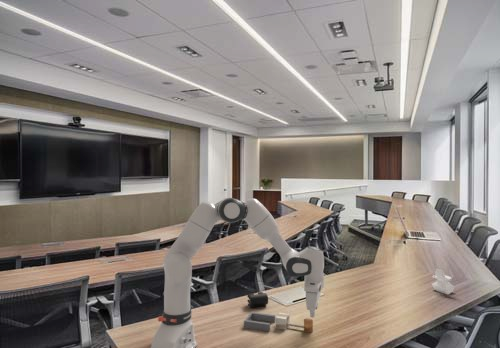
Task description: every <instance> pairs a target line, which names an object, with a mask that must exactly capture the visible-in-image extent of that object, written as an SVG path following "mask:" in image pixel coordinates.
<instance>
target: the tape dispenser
mask: <svg viewBox="0 0 500 348" xmlns="http://www.w3.org/2000/svg"><path fill="white" fill-rule="evenodd" d="M434 274H435V275H432V276H431V277H432V278H433V279H436V281H434V282H432V283H431V285H432V287H433V290H434V291H437V292H439V293H442V294H444V295H450V294H452V293H453V291H454V290H455V288H456V287H455V286H454V285H453V284H452V283H450V282H451V281H453V280H452V277H451V276H449V275H446V274H445V272H444V270H443V269H439V268H436V269H435V272H434Z"/></svg>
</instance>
